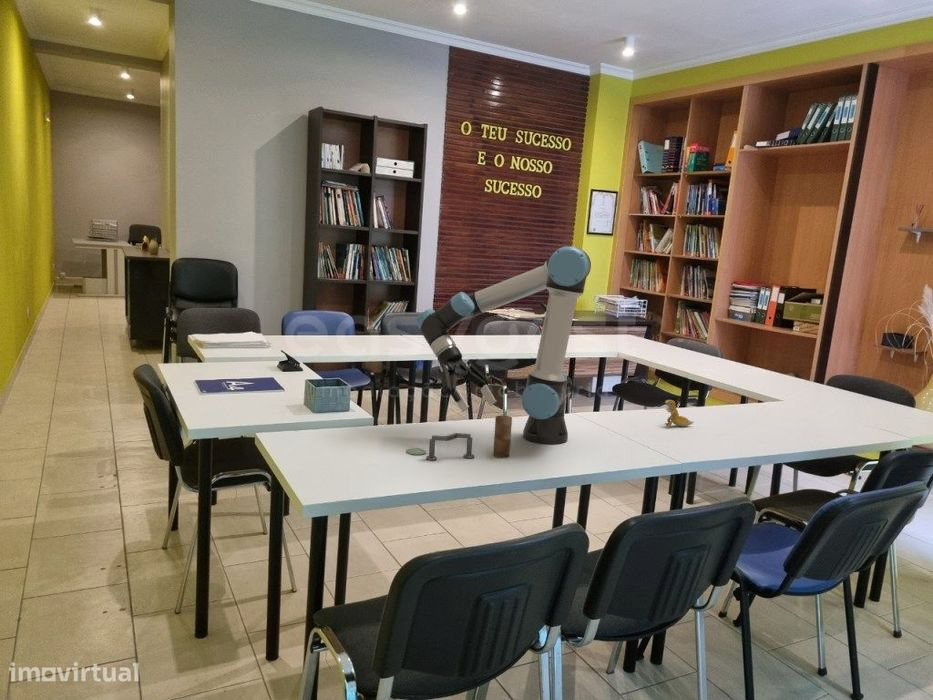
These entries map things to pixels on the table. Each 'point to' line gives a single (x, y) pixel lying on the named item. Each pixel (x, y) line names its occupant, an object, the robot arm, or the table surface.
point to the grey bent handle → (447, 438)
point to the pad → (416, 451)
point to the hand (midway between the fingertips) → (479, 406)
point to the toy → (675, 415)
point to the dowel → (502, 436)
